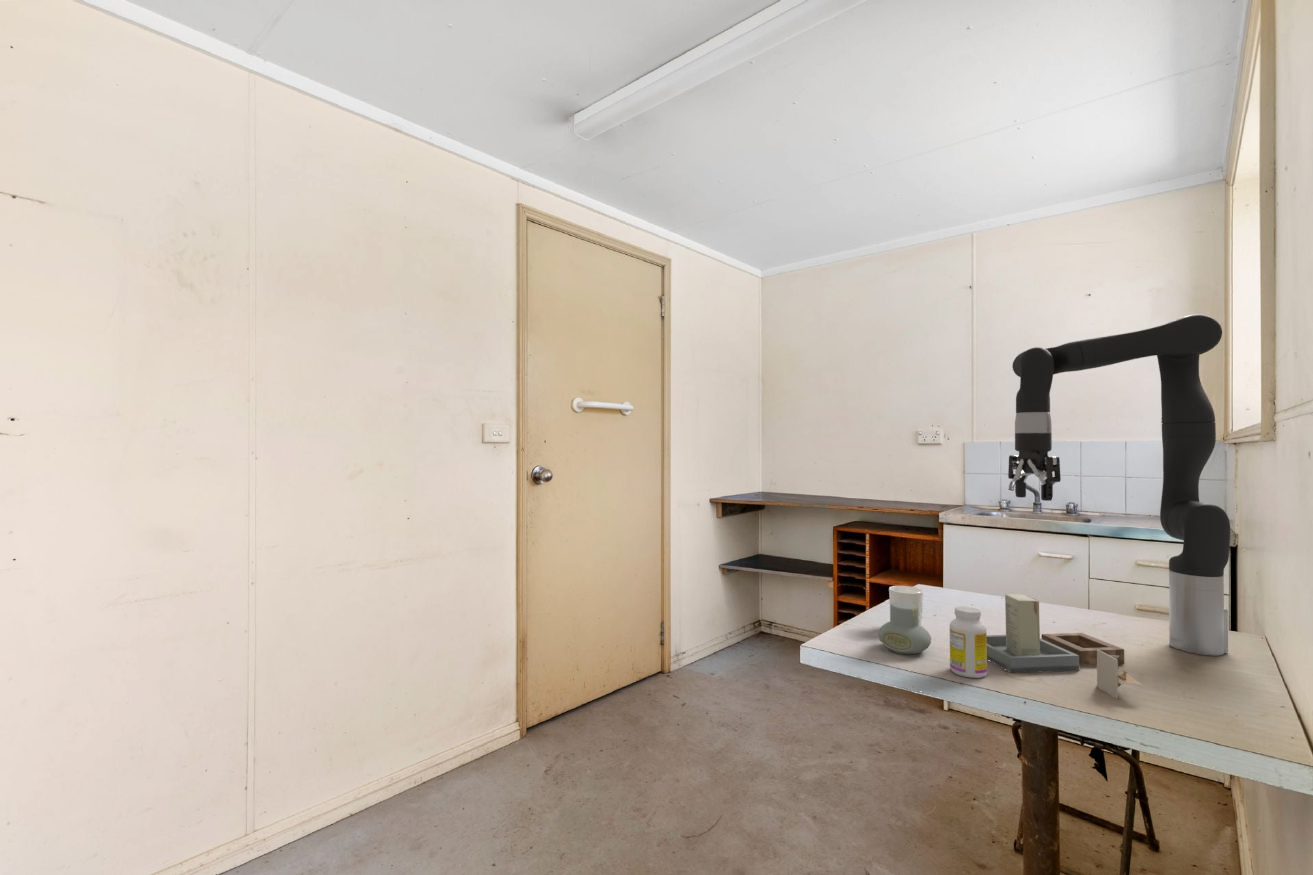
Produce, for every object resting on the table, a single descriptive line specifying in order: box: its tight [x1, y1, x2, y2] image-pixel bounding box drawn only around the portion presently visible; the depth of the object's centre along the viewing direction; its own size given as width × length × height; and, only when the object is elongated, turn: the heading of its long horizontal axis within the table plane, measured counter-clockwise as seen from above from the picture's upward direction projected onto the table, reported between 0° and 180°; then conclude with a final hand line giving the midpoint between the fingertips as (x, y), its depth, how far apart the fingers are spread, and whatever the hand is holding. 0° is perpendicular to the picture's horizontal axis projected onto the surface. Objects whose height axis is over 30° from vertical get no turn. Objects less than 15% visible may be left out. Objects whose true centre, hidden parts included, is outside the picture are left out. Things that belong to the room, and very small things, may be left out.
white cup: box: [888, 585, 924, 626], centre depth 149 cm, size 8×8×10 cm
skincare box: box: [1004, 593, 1041, 656], centre depth 129 cm, size 6×4×12 cm
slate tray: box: [987, 634, 1080, 674], centre depth 128 cm, size 15×14×3 cm
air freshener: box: [878, 602, 932, 655], centre depth 134 cm, size 11×8×10 cm
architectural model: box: [1096, 649, 1142, 700], centre depth 111 cm, size 3×7×8 cm, turn 175°
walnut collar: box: [1041, 632, 1125, 666], centre depth 131 cm, size 10×11×3 cm
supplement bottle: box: [949, 605, 988, 679], centre depth 121 cm, size 7×7×13 cm
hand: (1033, 498), depth 144 cm, fingers open, 8 cm apart
